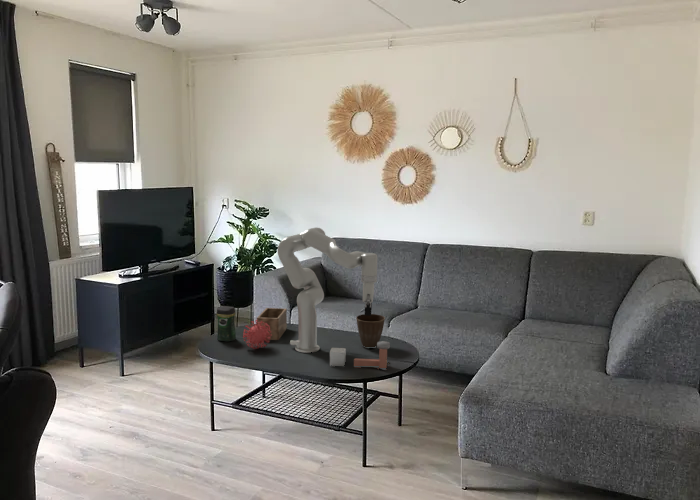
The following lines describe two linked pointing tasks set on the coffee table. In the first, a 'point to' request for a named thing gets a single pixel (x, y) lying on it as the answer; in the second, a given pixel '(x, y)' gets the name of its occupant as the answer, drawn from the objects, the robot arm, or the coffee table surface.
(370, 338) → the plant pot
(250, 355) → the coffee table surface
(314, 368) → the coffee table surface
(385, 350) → the brown mallet
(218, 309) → the coffee jar
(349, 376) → the coffee table surface
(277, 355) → the coffee table surface
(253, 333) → the virus model
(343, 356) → the block
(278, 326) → the wooden crate
